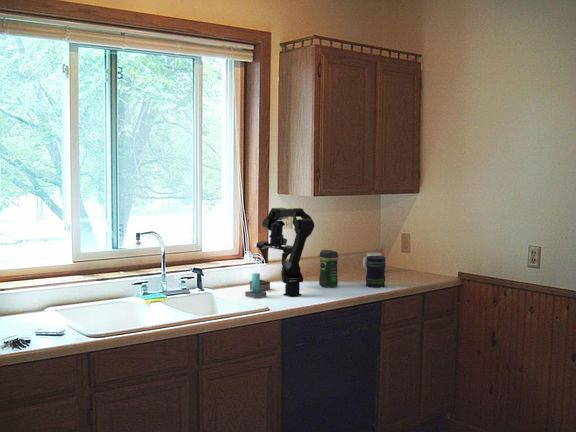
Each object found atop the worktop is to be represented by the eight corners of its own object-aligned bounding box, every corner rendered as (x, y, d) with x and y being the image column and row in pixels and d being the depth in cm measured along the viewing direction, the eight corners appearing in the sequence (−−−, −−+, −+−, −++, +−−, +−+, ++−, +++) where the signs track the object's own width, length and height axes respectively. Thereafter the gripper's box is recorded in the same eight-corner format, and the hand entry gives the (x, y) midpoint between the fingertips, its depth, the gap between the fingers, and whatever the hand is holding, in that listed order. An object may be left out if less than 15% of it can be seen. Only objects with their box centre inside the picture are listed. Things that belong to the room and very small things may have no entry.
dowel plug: (259, 294, 303) (259, 273, 303) (259, 295, 300) (259, 274, 299) (251, 294, 303) (252, 273, 302) (252, 296, 300) (252, 274, 299)
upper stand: (269, 290, 318) (270, 281, 317) (259, 291, 313) (259, 283, 313) (260, 288, 323) (260, 279, 322) (249, 289, 318) (249, 281, 318)
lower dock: (266, 296, 301) (266, 292, 301) (254, 298, 297) (254, 294, 296) (256, 294, 307) (256, 290, 306) (245, 296, 302) (245, 291, 302)
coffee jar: (340, 287, 327) (341, 250, 326) (327, 288, 323) (328, 251, 322) (329, 284, 336) (329, 248, 334) (316, 285, 331) (317, 249, 330)
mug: (374, 270, 381) (374, 252, 380) (384, 272, 374) (384, 253, 373) (358, 272, 375) (358, 253, 374) (367, 274, 368) (368, 255, 367)
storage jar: (388, 285, 333) (388, 256, 332) (380, 288, 325) (380, 259, 324) (370, 283, 338) (371, 255, 337) (362, 286, 330) (362, 257, 329)
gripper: (300, 233, 320) (298, 263, 323) (267, 227, 328) (265, 257, 331) (291, 237, 310) (288, 268, 313) (256, 231, 318) (254, 261, 321)
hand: (274, 263), depth 320 cm, fingers open, 9 cm apart
